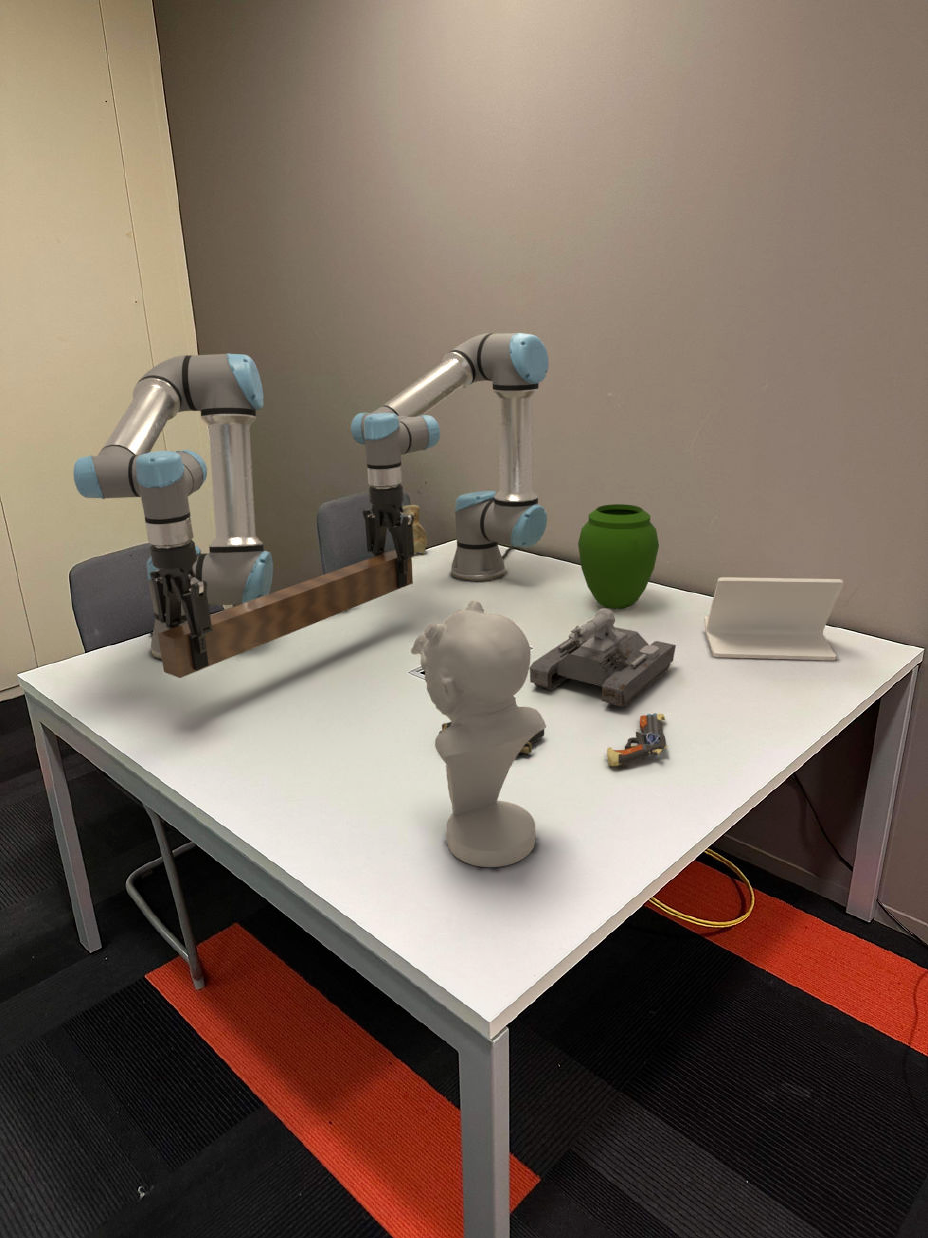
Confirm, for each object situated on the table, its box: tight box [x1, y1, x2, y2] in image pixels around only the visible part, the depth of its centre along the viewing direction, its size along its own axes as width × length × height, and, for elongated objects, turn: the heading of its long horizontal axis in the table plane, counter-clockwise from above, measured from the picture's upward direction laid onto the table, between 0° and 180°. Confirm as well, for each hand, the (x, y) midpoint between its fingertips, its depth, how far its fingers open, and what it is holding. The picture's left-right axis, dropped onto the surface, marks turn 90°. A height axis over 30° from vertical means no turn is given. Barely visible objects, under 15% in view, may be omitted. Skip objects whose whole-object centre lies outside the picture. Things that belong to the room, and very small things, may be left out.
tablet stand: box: [704, 576, 844, 661], centre depth 185 cm, size 18×25×17 cm
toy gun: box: [606, 712, 668, 767], centre depth 148 cm, size 3×19×10 cm
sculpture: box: [402, 504, 429, 555], centre depth 260 cm, size 6×7×15 cm
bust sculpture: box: [410, 599, 547, 868], centre depth 121 cm, size 16×24×35 cm
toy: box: [529, 607, 677, 708], centre depth 171 cm, size 25×20×15 cm
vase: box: [577, 503, 660, 610], centre depth 210 cm, size 20×20×24 cm
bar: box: [158, 549, 414, 679], centre depth 176 cm, size 64×5×8 cm, turn 143°
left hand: (191, 663), depth 157 cm, fingers closed on bar, 5 cm apart
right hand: (392, 584), depth 198 cm, fingers closed on bar, 5 cm apart
